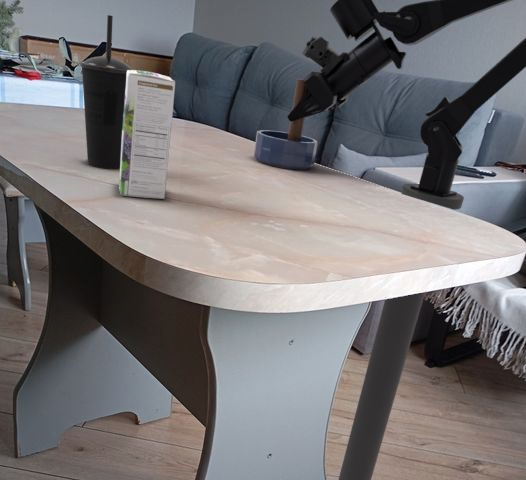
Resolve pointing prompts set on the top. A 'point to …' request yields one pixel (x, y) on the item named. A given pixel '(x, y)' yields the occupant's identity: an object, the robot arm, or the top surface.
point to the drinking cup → (104, 105)
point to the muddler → (298, 124)
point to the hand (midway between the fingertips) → (290, 118)
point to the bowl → (284, 150)
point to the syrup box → (146, 134)
